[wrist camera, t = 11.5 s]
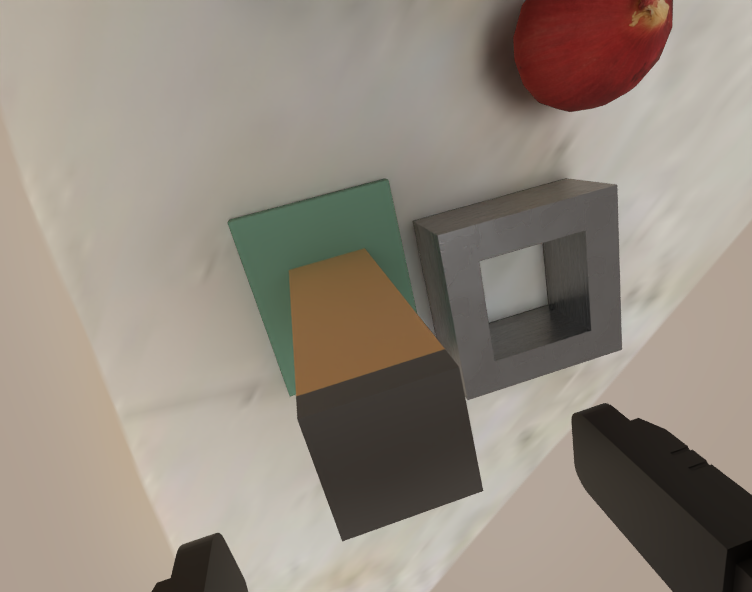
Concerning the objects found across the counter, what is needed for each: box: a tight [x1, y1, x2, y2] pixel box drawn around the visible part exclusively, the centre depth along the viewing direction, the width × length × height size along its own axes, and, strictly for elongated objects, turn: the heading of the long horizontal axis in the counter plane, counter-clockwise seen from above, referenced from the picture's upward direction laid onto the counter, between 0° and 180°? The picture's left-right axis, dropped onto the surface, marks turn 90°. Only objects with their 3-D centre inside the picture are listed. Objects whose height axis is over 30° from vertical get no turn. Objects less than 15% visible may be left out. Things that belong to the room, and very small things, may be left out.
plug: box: [289, 248, 483, 541], centre depth 17 cm, size 4×4×13 cm
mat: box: [228, 179, 417, 396], centre depth 24 cm, size 10×8×1 cm
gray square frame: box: [413, 178, 622, 400], centre depth 24 cm, size 9×9×4 cm
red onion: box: [513, 0, 673, 112], centre depth 18 cm, size 6×6×8 cm
